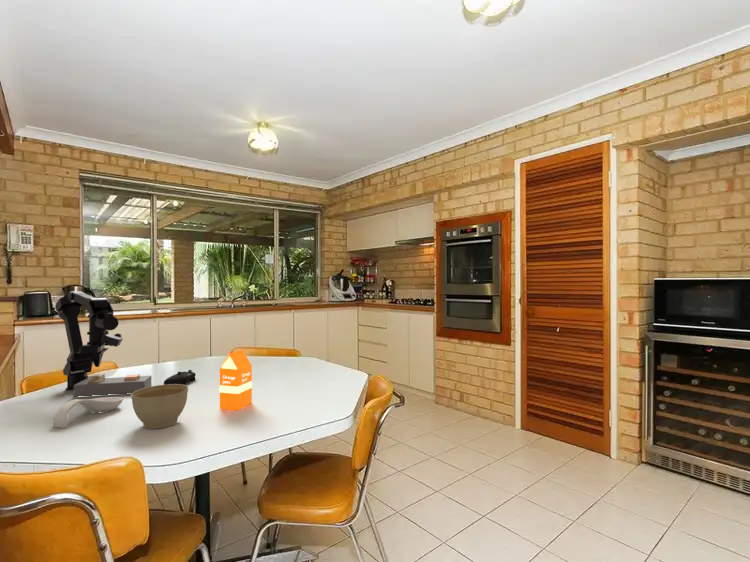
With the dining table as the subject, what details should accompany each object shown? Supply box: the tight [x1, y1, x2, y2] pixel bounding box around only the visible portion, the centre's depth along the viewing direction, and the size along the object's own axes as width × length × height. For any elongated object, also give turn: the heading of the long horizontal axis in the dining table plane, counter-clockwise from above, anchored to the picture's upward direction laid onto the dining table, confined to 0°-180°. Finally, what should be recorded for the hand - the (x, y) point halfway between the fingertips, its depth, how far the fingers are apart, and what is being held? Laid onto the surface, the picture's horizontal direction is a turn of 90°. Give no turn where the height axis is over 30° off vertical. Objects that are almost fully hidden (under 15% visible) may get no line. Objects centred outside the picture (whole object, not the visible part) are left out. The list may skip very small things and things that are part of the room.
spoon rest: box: [51, 396, 124, 429], centre depth 136 cm, size 24×12×7 cm, turn 174°
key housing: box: [73, 375, 152, 398], centre depth 165 cm, size 25×10×5 cm, turn 105°
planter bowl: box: [130, 384, 189, 430], centre depth 128 cm, size 16×16×11 cm
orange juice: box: [219, 349, 253, 411], centre depth 146 cm, size 8×9×20 cm
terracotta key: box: [123, 374, 141, 381], centre depth 167 cm, size 4×4×4 cm
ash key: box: [87, 373, 106, 383], centre depth 163 cm, size 4×4×4 cm
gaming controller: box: [163, 369, 196, 386], centre depth 182 cm, size 14×6×10 cm
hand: (97, 366), depth 164 cm, fingers closed
